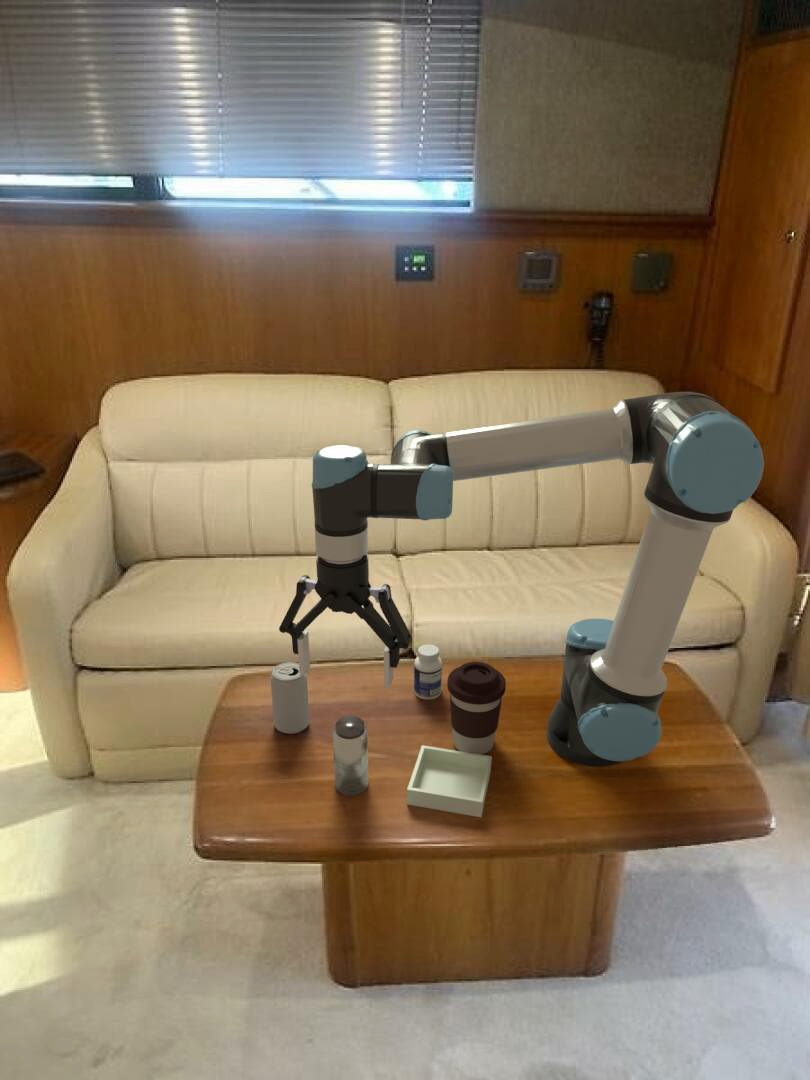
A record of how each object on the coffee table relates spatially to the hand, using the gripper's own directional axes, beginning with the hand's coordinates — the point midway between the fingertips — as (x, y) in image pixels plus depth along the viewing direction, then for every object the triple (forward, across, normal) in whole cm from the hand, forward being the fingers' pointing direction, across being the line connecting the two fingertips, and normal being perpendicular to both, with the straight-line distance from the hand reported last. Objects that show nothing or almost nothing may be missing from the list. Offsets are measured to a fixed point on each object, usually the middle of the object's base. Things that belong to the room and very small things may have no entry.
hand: (346, 677), depth 122 cm
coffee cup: (+21, -18, -15) cm, 31 cm away
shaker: (+21, 0, 0) cm, 21 cm away
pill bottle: (+21, -7, -28) cm, 35 cm away
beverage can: (+21, +15, -11) cm, 28 cm away
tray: (+21, -16, -3) cm, 27 cm away
